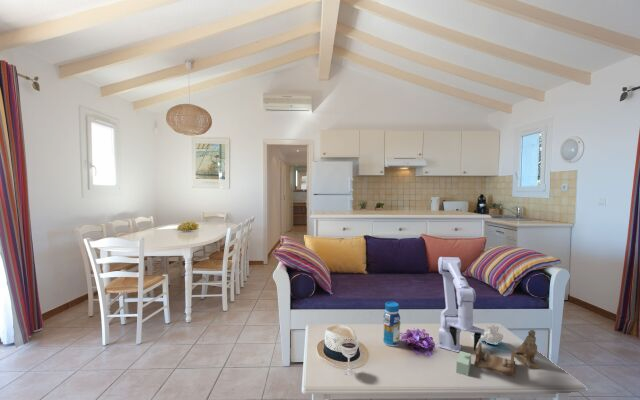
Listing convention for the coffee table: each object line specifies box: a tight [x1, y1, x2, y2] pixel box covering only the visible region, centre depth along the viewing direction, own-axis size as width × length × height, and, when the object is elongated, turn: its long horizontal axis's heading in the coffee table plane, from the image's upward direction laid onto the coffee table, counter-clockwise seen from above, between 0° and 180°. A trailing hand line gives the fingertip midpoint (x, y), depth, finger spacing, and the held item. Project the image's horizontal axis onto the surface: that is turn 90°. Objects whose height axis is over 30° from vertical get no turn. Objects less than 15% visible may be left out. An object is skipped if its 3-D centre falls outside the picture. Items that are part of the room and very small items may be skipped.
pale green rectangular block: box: [456, 350, 472, 377], centre depth 132 cm, size 10×4×5 cm, turn 148°
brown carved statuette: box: [513, 329, 539, 370], centre depth 136 cm, size 12×6×18 cm, turn 176°
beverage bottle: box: [382, 301, 401, 347], centre depth 153 cm, size 8×8×20 cm
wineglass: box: [340, 339, 358, 376], centre depth 128 cm, size 7×7×12 cm
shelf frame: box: [473, 341, 516, 378], centre depth 134 cm, size 15×12×6 cm
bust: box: [481, 324, 504, 343], centre depth 152 cm, size 12×8×11 cm
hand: (464, 347), depth 131 cm, fingers open, 7 cm apart
